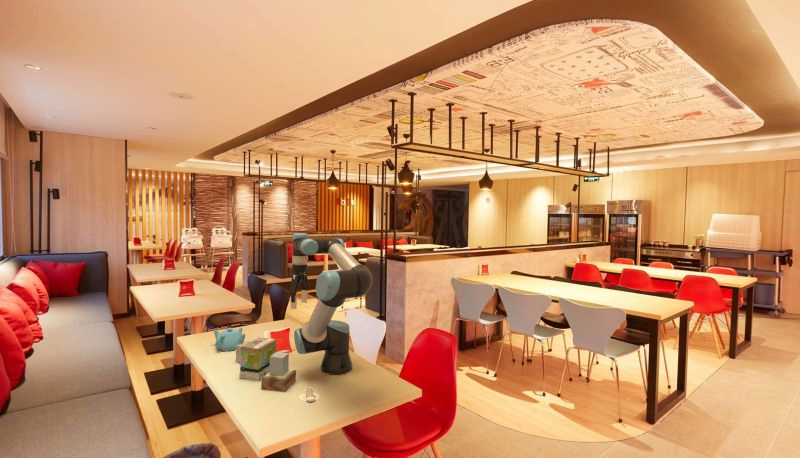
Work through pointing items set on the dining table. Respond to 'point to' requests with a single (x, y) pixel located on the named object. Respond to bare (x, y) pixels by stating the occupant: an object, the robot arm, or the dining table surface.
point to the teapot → (229, 339)
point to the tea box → (256, 358)
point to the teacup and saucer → (309, 395)
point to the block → (279, 363)
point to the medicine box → (239, 351)
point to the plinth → (278, 381)
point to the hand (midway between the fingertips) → (298, 305)
